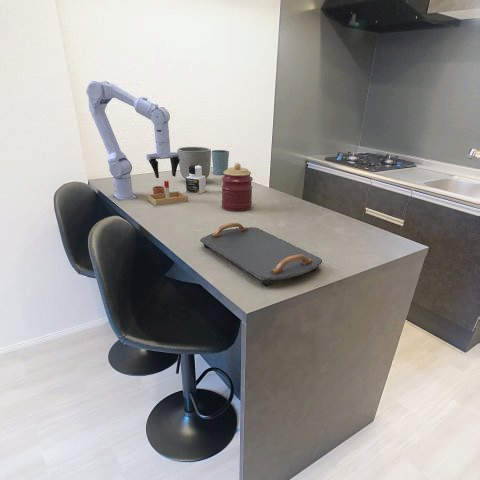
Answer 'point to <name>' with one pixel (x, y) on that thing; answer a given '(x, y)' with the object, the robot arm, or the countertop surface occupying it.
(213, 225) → the countertop surface
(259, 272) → the serving tray
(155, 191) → the cup
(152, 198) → the tray
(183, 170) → the planter
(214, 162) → the blue tapered pot
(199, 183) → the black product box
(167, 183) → the marker
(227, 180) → the kitchen canister
